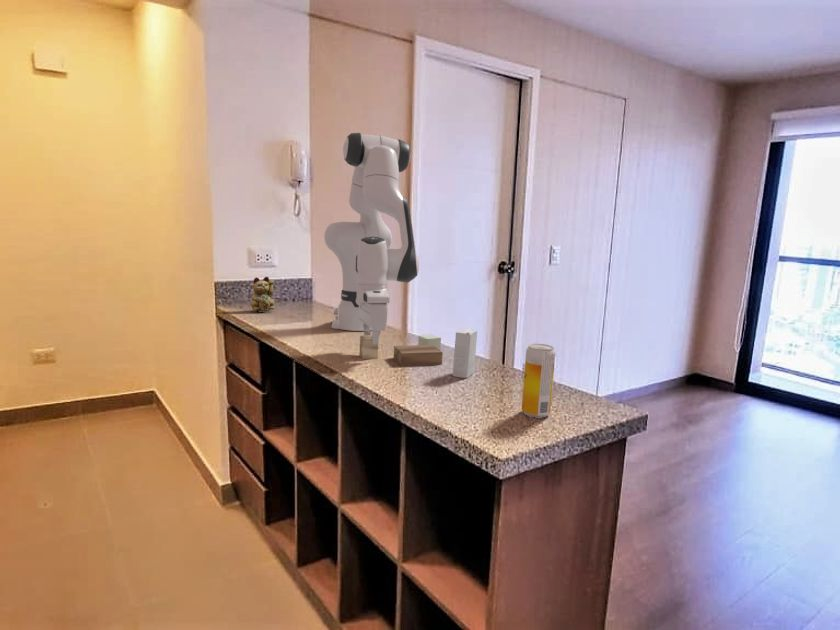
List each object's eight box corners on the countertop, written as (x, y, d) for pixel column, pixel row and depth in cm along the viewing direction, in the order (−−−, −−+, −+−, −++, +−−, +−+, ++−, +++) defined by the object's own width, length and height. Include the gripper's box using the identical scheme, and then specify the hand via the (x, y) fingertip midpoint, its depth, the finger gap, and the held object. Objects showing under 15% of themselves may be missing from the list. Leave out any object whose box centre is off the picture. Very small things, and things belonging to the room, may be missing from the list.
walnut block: (393, 359, 159) (394, 346, 158) (432, 357, 162) (432, 344, 162) (401, 367, 150) (402, 353, 150) (441, 365, 154) (442, 352, 153)
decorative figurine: (255, 314, 220) (254, 277, 217) (246, 311, 226) (246, 275, 224) (277, 312, 226) (277, 276, 224) (268, 309, 232) (268, 274, 230)
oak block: (359, 355, 160) (359, 335, 159) (374, 354, 162) (374, 335, 161) (362, 359, 156) (363, 338, 155) (377, 358, 158) (378, 338, 157)
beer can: (537, 407, 120) (542, 342, 118) (555, 416, 115) (562, 348, 112) (515, 411, 117) (520, 344, 115) (533, 420, 112) (539, 350, 109)
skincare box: (459, 371, 148) (462, 328, 146) (475, 373, 146) (477, 329, 144) (451, 376, 142) (454, 331, 140) (467, 379, 140) (470, 333, 138)
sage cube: (418, 351, 169) (418, 335, 168) (431, 349, 171) (431, 334, 170) (426, 355, 165) (427, 339, 164) (440, 353, 167) (440, 337, 166)
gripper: (353, 289, 164) (353, 333, 166) (369, 298, 145) (368, 348, 147) (373, 289, 166) (373, 333, 168) (391, 297, 147) (390, 347, 149)
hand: (370, 340), depth 158 cm, fingers open, 8 cm apart
